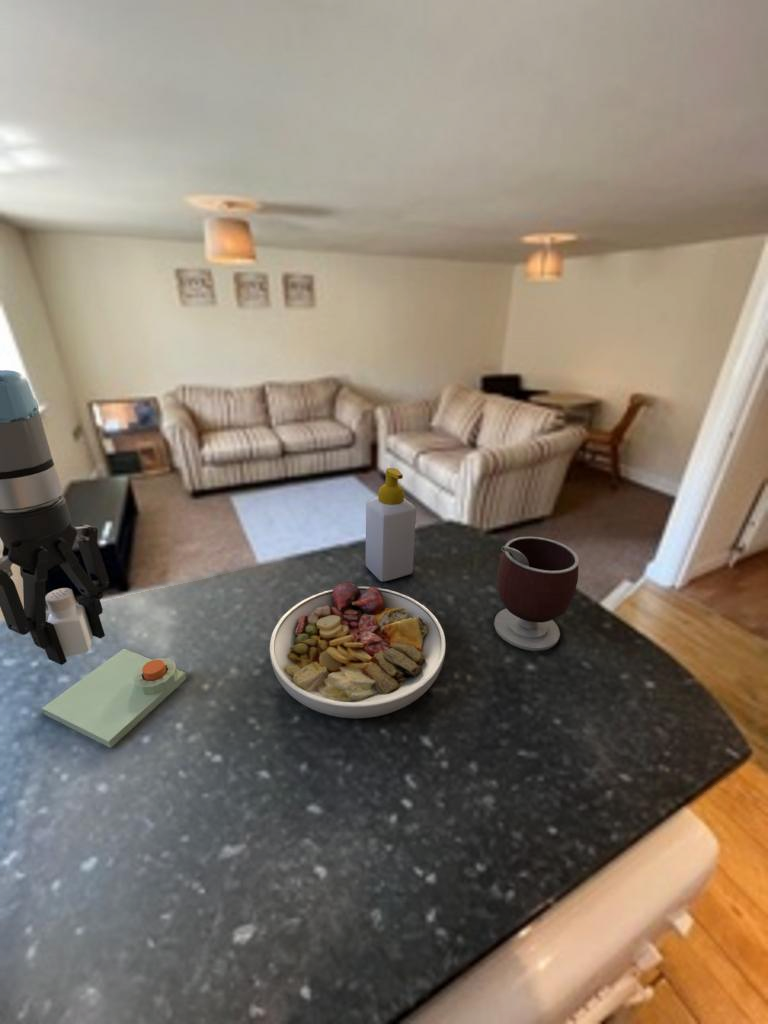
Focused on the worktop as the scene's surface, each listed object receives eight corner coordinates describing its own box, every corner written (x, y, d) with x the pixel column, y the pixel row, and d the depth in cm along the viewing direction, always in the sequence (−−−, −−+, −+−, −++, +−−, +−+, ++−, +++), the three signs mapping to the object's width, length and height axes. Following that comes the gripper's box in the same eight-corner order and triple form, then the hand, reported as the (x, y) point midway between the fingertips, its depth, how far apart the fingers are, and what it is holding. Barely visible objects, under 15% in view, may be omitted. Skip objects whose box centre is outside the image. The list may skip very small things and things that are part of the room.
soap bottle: (381, 584, 100) (383, 480, 90) (363, 565, 107) (363, 466, 97) (414, 574, 104) (421, 473, 94) (395, 557, 111) (399, 461, 101)
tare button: (139, 677, 71) (137, 670, 70) (156, 664, 74) (154, 656, 73) (154, 683, 70) (152, 676, 69) (170, 670, 72) (169, 662, 72)
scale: (44, 714, 67) (38, 700, 66) (125, 654, 79) (121, 641, 78) (111, 748, 62) (105, 733, 61) (187, 678, 74) (184, 664, 73)
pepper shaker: (63, 642, 66) (44, 589, 62) (94, 635, 68) (78, 583, 64) (57, 660, 63) (37, 605, 59) (90, 653, 65) (73, 599, 61)
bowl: (473, 706, 70) (478, 668, 67) (278, 751, 62) (274, 711, 59) (410, 596, 96) (412, 565, 93) (267, 619, 89) (263, 586, 85)
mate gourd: (532, 601, 96) (548, 517, 87) (579, 643, 84) (604, 551, 76) (469, 617, 91) (480, 529, 82) (511, 664, 79) (529, 567, 70)
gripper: (77, 474, 64) (115, 605, 74) (-82, 525, 49) (-8, 682, 59) (114, 482, 62) (148, 617, 72) (-42, 539, 47) (29, 701, 56)
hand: (77, 646), depth 65 cm, fingers closed on pepper shaker, 5 cm apart
